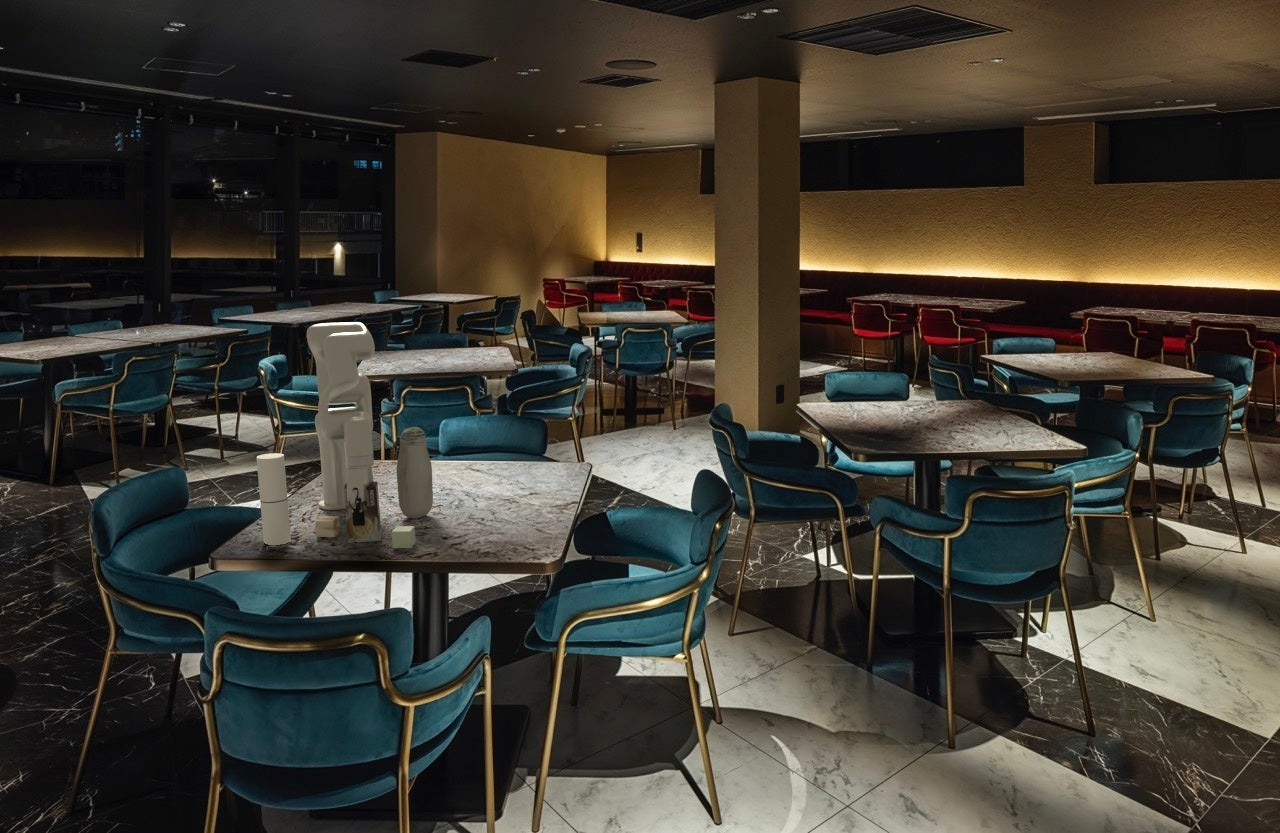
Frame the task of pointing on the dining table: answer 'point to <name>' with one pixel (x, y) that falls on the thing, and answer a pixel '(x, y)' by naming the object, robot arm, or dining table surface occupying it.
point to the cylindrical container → (273, 498)
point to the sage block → (403, 537)
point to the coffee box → (372, 517)
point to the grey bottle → (414, 474)
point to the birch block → (327, 526)
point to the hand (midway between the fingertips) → (363, 521)
